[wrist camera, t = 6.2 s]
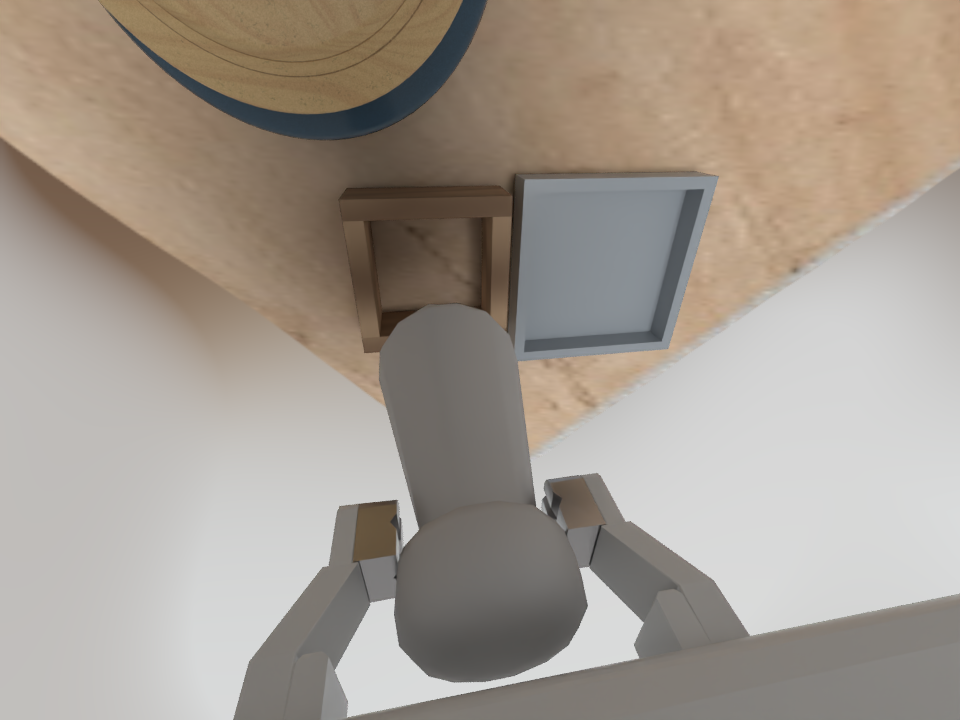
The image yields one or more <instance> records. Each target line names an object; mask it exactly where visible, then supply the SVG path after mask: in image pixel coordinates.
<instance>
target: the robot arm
mask: <svg viewBox="0 0 960 720" xmlns="http://www.w3.org/2000/svg"><path fill="white" fill-rule="evenodd" d="M544 491H545V494H546V496H545V497H544V498H543V499H542V507H541V508H542V512H544V513H545V514H547V515H548V516H550V517H551V518H552V519H554V520H555V521H556V522H557V523H558V524H559V525H560V526H561V528H562V529H563V530H564V532H565V534H566V536H567V538H568V540H569V543H570V545H571V547H572V549H573V551H574V553H575V556H576V559H577V563H578V566H579V568H583V567H590V569H591V570H592V571H593V572H594V573H595V574H596V575H597V576H598V577H599V578H600V579H601V580H602V581H603V582H604V583H605V584H606V585H607V586H608V587H609V588H610V589H611V590H612V591H613V592H614V593H615V594H616V595H617V596H618V597H619V598H620V599H621V600H622V601H623V602H624V603H625V604H626V605H627V606H628V607H629V608H630V609H631V610H632V611H633V612H634V613H635V614H636V615H637V616H638V617H639V618H640V619H641V620H642V621H643V622H644V624H643V626H642V628H641V630H640V633H639V635H638V637H637V639H636V642H635V644H634V646H635V648H636V651H637V653H638V656H639V659H634V660H630V661H624V662H620V663H615V664H610V665H605V666H601V667H595V668H590V669H585V670H580V671H575V672H570V673H565V674H560V675H555V676H551V677H545V678H540V679H535V680H531V681H525V682H520V683H516V684H511V685H506V686H501V687H496V688H491V689H486V690H481V691H476V692H471V693H466V694H461V695H456V696H451V697H446V698H442V699H436V700H431V701H426V702H421V703H417V704H411V705H406V706H402V707H397V708H392V709H387V710H382V711H377V712H372V713H367V714H362V715H358V716H352V717H348V718H347V706H348V705H347V704H348V701H347V699H346V696H345V694H344V692H343V689H342V687H341V685H340V682H339V680H338V678H337V675H336V674H335V671H334V670H335V669H336V667H337V665H338V663H339V661H340V659H341V658H342V655H343V654H344V652H345V650H346V648H347V646H348V644H349V642H350V641H351V639H352V637H353V635H354V634H355V632H356V630H357V628H358V626H359V624H360V623H361V621H362V619H363V617H364V615H365V613H366V612H367V610H368V608H369V606H370V603H371V602H375V601H381V600H386V599H391V598H395V595H396V581H397V569H398V560H399V558H400V555H401V552H402V549H403V532H402V522H401V518H400V517H399V503H398V500H392V501H382V502H372V503H363V504H354V505H346V506H340V507H339V509H338V511H337V517H336V523H335V529H334V535H333V542H332V548H331V555H330V561H329V566H327V567H323V568H322V569H321V570H320V571H319V573H318V574H317V575H316V577H315V578H314V579H313V580H312V582H311V583H310V584H309V586H308V587H307V588H306V589H305V591H304V592H303V593H302V595H301V596H300V597H299V599H298V600H297V601H296V602H295V604H294V605H293V606H292V607H291V609H290V610H289V611H288V613H287V614H286V615H285V616H284V618H283V619H282V620H281V622H280V623H279V624H278V625H277V627H276V628H275V629H274V631H273V632H272V633H271V634H270V636H269V637H268V638H267V640H266V641H265V642H264V643H263V645H262V646H261V648H260V649H259V650H258V651H257V652H256V654H255V655H254V656H253V658H252V659H251V660H250V661H249V664H248V668H247V671H246V675H245V679H244V682H243V686H242V690H241V693H240V697H239V701H238V705H237V708H236V712H235V715H234V719H233V720H960V594H956V595H952V596H947V597H942V598H937V599H932V600H927V601H922V602H917V603H912V604H907V605H902V606H897V607H892V608H887V609H882V610H877V611H872V612H867V613H863V614H858V615H852V616H848V617H843V618H838V619H833V620H828V621H823V622H818V623H813V624H808V625H803V626H798V627H793V628H788V629H783V630H779V631H773V632H768V633H763V634H758V635H754V636H750V635H749V634H748V632H747V631H746V629H745V628H744V626H743V625H742V623H741V621H740V620H739V619H738V617H737V615H736V614H735V612H734V611H733V609H732V608H731V606H730V605H729V603H728V602H727V600H726V599H725V597H724V596H723V594H722V592H721V591H720V589H719V588H718V586H717V585H716V583H715V582H714V580H712V579H711V578H709V577H708V576H707V575H705V574H704V573H703V572H701V571H700V570H698V569H697V568H695V567H694V566H693V565H691V564H690V563H688V562H687V561H686V560H684V559H683V558H681V557H680V556H678V555H677V554H676V553H674V552H673V551H672V550H670V549H669V548H667V547H666V546H665V545H663V544H662V543H660V542H659V541H657V540H656V539H655V538H653V537H652V536H651V535H649V534H648V533H646V532H645V531H643V530H642V529H641V528H639V527H638V526H636V525H635V524H633V523H632V522H631V521H630V522H625V520H624V518H623V516H622V514H621V513H620V511H619V509H618V507H617V505H616V503H615V502H614V500H613V498H612V496H611V494H610V493H609V491H608V489H607V487H606V485H605V483H604V482H603V479H602V478H601V476H600V475H599V474H598V473H595V474H587V475H580V476H579V475H577V476H569V477H563V478H556V479H549V480H546V481H545V484H544Z"/></svg>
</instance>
